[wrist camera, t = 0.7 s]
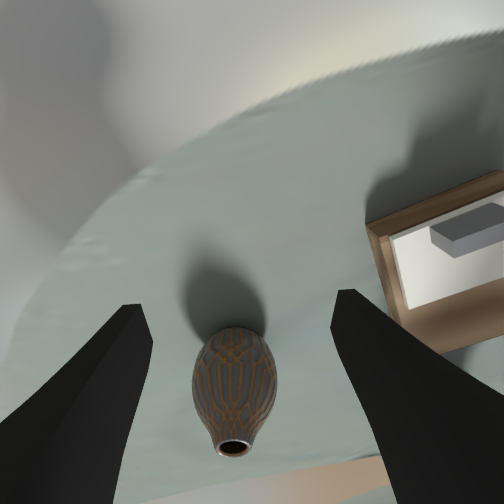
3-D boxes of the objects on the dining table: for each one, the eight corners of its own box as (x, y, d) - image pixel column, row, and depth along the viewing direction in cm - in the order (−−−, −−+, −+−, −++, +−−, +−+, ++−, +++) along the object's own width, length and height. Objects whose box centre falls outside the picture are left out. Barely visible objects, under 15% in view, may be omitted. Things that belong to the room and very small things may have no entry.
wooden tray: (497, 311, 23) (520, 329, 21) (398, 343, 25) (411, 363, 23) (496, 169, 17) (529, 177, 15) (365, 225, 19) (379, 237, 17)
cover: (520, 264, 18) (559, 286, 16) (405, 305, 19) (426, 330, 17) (524, 182, 15) (572, 194, 13) (389, 236, 17) (411, 255, 14)
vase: (243, 302, 22) (244, 405, 14) (286, 346, 25) (305, 452, 17) (183, 337, 24) (155, 445, 16) (229, 375, 27) (224, 482, 19)
